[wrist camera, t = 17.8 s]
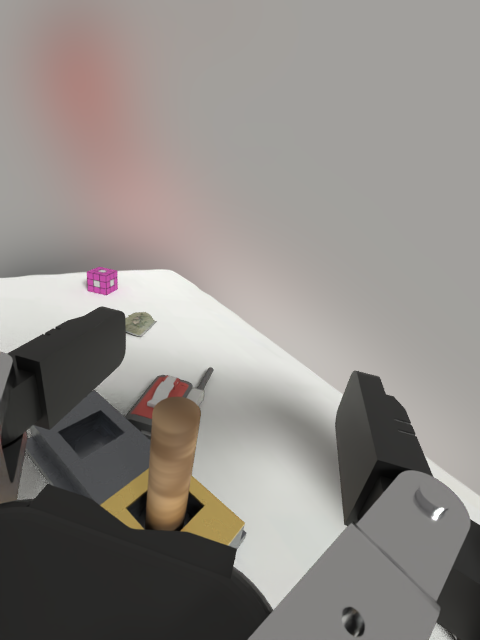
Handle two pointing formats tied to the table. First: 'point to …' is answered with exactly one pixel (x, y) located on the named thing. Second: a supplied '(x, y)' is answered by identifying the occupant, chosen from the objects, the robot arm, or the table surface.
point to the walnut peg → (171, 462)
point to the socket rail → (119, 470)
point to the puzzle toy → (102, 280)
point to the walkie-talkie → (162, 390)
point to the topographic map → (139, 323)
